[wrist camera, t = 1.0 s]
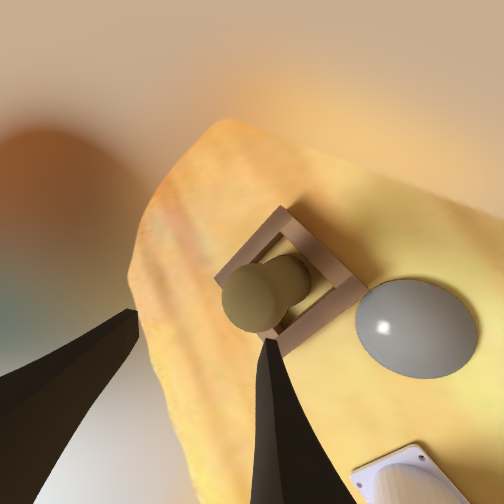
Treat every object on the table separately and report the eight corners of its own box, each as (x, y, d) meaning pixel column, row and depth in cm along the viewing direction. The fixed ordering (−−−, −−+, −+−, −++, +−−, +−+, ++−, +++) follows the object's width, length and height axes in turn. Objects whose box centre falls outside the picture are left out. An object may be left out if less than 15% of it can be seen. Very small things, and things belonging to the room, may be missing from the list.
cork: (284, 244, 24) (243, 240, 14) (322, 281, 22) (308, 307, 12) (252, 279, 26) (195, 297, 15) (285, 316, 24) (246, 363, 14)
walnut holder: (366, 286, 20) (369, 290, 18) (284, 350, 24) (278, 361, 22) (285, 209, 24) (280, 204, 21) (224, 275, 27) (213, 278, 25)
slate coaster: (503, 339, 16) (509, 342, 16) (406, 392, 19) (409, 397, 18) (409, 259, 19) (411, 260, 18) (335, 316, 22) (335, 318, 21)
